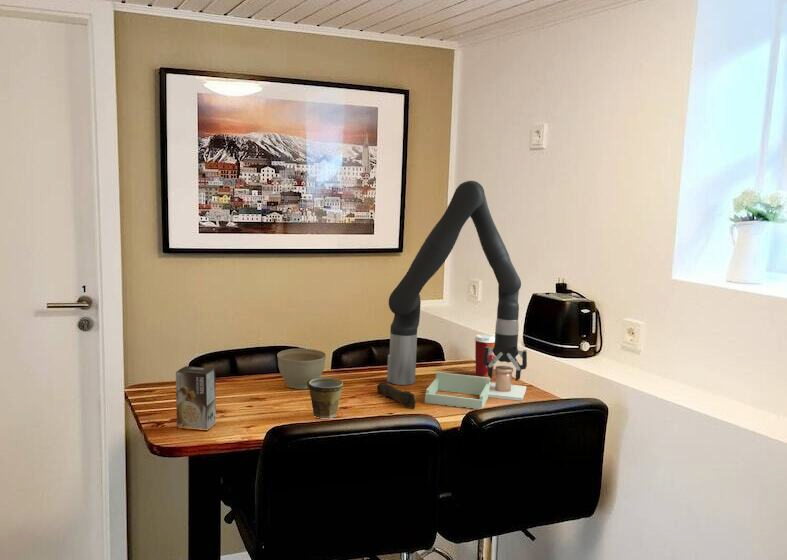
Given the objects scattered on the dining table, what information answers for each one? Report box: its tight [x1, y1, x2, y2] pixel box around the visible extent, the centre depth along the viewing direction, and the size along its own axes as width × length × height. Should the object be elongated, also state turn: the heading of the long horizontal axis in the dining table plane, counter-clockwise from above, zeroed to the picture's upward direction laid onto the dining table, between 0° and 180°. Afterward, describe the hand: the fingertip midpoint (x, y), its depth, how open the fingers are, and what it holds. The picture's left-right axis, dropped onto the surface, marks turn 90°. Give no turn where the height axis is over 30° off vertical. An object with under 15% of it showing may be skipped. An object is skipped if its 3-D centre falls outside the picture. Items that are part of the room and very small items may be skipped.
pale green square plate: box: [478, 381, 527, 402], centre depth 229 cm, size 14×14×1 cm
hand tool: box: [376, 381, 416, 410], centre depth 216 cm, size 19×4×5 cm, turn 31°
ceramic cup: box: [307, 377, 344, 419], centre depth 201 cm, size 13×10×10 cm
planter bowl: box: [276, 348, 327, 390], centre depth 228 cm, size 16×16×11 cm
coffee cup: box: [474, 333, 495, 380], centre depth 247 cm, size 8×8×15 cm
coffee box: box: [175, 365, 217, 429], centre depth 187 cm, size 9×6×16 cm
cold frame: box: [424, 371, 491, 410], centre depth 220 cm, size 18×16×6 cm
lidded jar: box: [494, 365, 514, 392], centre depth 229 cm, size 6×6×8 cm
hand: (503, 379), depth 229 cm, fingers open, 8 cm apart
